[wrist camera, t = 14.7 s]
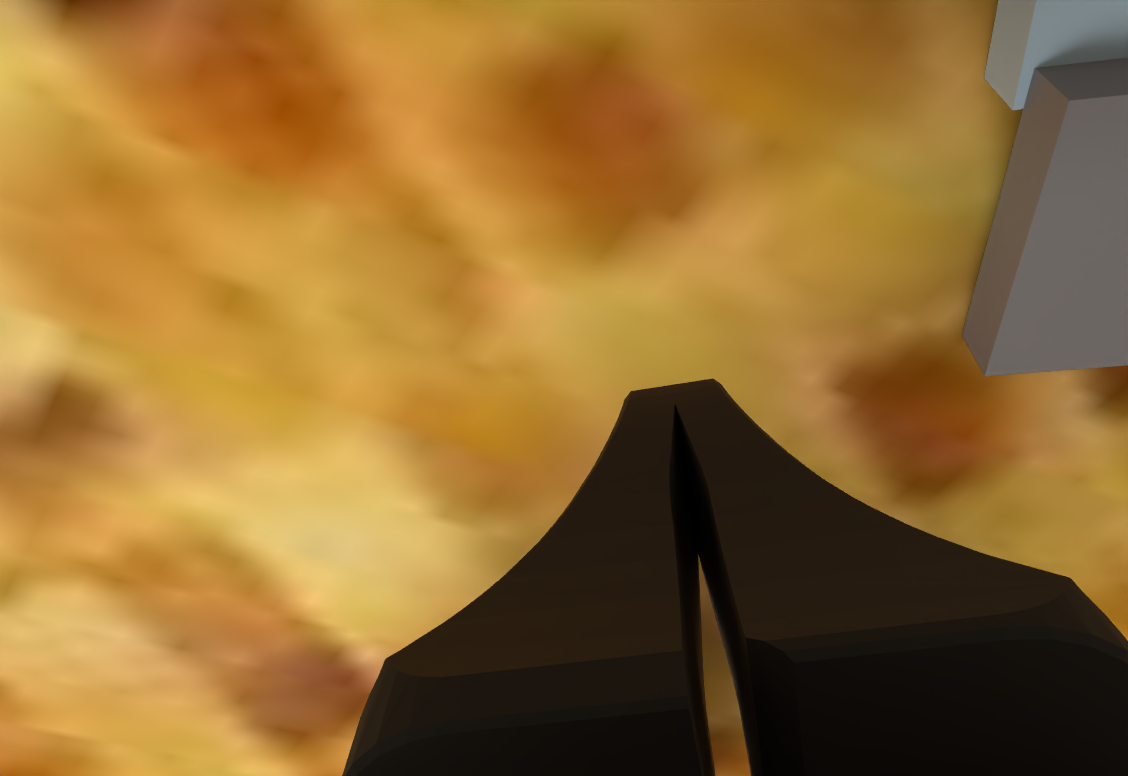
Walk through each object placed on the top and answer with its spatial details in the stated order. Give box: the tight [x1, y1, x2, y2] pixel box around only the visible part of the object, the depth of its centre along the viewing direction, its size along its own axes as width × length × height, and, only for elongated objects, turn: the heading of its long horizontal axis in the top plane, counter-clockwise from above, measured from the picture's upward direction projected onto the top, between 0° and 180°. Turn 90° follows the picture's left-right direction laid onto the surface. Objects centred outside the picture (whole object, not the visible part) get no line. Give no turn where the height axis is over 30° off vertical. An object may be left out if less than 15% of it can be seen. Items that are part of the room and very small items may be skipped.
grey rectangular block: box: [962, 58, 1128, 376], centre depth 18 cm, size 2×5×7 cm
